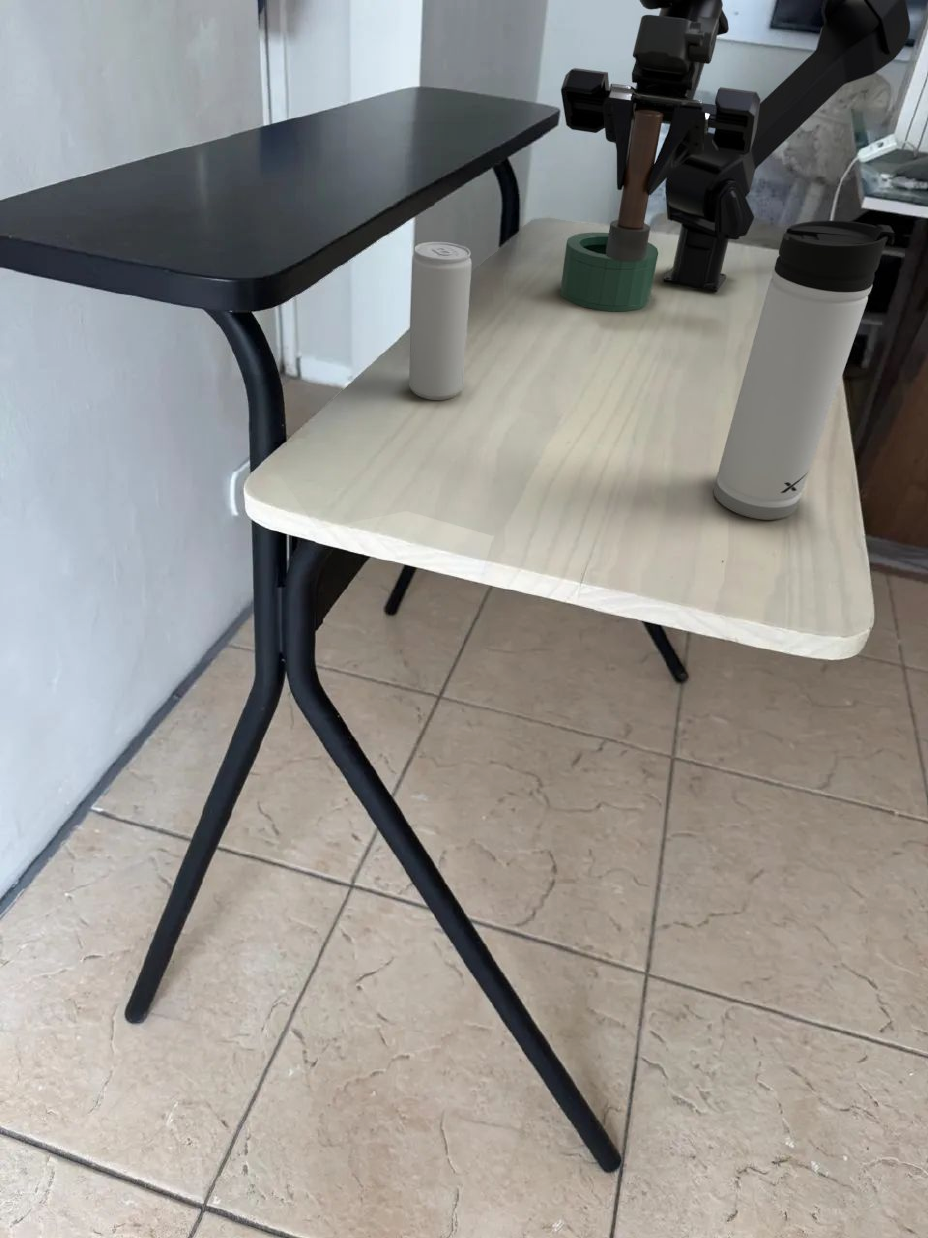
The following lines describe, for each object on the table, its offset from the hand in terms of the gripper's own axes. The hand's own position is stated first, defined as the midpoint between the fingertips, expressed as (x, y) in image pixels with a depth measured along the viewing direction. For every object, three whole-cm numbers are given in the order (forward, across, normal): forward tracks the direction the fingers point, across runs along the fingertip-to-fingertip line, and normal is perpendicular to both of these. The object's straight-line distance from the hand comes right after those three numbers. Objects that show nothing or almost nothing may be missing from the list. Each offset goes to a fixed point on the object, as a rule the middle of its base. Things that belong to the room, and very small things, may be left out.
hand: (633, 189), depth 89 cm
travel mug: (+31, +19, -12) cm, 38 cm away
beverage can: (+27, -10, -8) cm, 29 cm away
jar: (+3, -3, +16) cm, 17 cm away
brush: (+4, 0, +6) cm, 7 cm away
